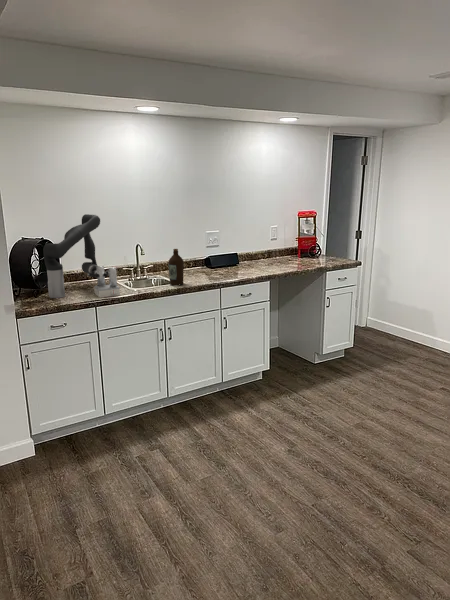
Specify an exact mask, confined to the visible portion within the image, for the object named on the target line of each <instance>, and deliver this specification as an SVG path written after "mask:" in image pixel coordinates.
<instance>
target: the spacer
mask: <svg viewBox="0 0 450 600" xmlns="http://www.w3.org/2000/svg"><path fill="white" fill-rule="evenodd" d="M104 272H105V266H104V265H97V274H98V278H96V279H97V286H104V285H106V277H105V273H104Z"/></svg>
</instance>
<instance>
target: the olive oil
mask: <svg viewBox="0 0 450 600" xmlns="http://www.w3.org/2000/svg"><path fill="white" fill-rule="evenodd" d="M167 263H168V264H167V265H168V273H169V285H170V286H173V285H179V284H183V285H184V270H185V269H184V266H185V265H184V264H185V263H184V259H183V258H182V257H181V256H180V254H179V249H178V248H173V254H172V255H171V256H170V258H169V260H168V262H167ZM179 286H180V285H179Z"/></svg>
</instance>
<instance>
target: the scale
mask: <svg viewBox="0 0 450 600" xmlns="http://www.w3.org/2000/svg"><path fill="white" fill-rule="evenodd" d="M93 287H94V288H93V289H94V294H95V295H96V296H97V297H98V298H104V297H116V296H120V295H121V292H120V291H121V290H120V286H118V285H117V287H115V288H111V287H110V283H109V284H105V285H104V286H98V285H94V286H93Z"/></svg>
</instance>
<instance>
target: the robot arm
mask: <svg viewBox="0 0 450 600" xmlns="http://www.w3.org/2000/svg"><path fill="white" fill-rule="evenodd" d="M100 224H101V218H100V216H99V215H97V214H84V215H82V217H81V224H78V225H76V226H75V225H74V226H72V227H70V229H68V230H67V231H66V232H65V233H64V236H63V237H64V239H63V240H62V241H61V242H58V243H46V244H44V246H43V253H42V254H43V258H44V259H43V260H44V264H45V267H46V272H47V289H48V297H49V298H50V299H58V298H64V297H66V292H65V290H66V289H65V278H64V267H63V264H62V263H60V262H58V261H57V259H58V260H59V259H62V258H63V257H64V256H65V254H67V253H68V251H69V250H70V249H72V247H74V246H75V245H76V244H77V243H78V242H80V241H81V240H82V239H83V241H84V242H83V243H84V258H85V259H88V260H91V261H85V262H83V263H82V264H81V270H82V272H84V273H86V274H87V277H91V278H95V279H97V278H98V274H97V266H98V263H97V260H96V259H97V258H96V245H95V242H94V240H93V238H92V236H91V232H93V231H95V230H96V229H97V228H98V227H99V226H100ZM104 273H105V278H107V277H109V269H108V270H106V271H104Z"/></svg>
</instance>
